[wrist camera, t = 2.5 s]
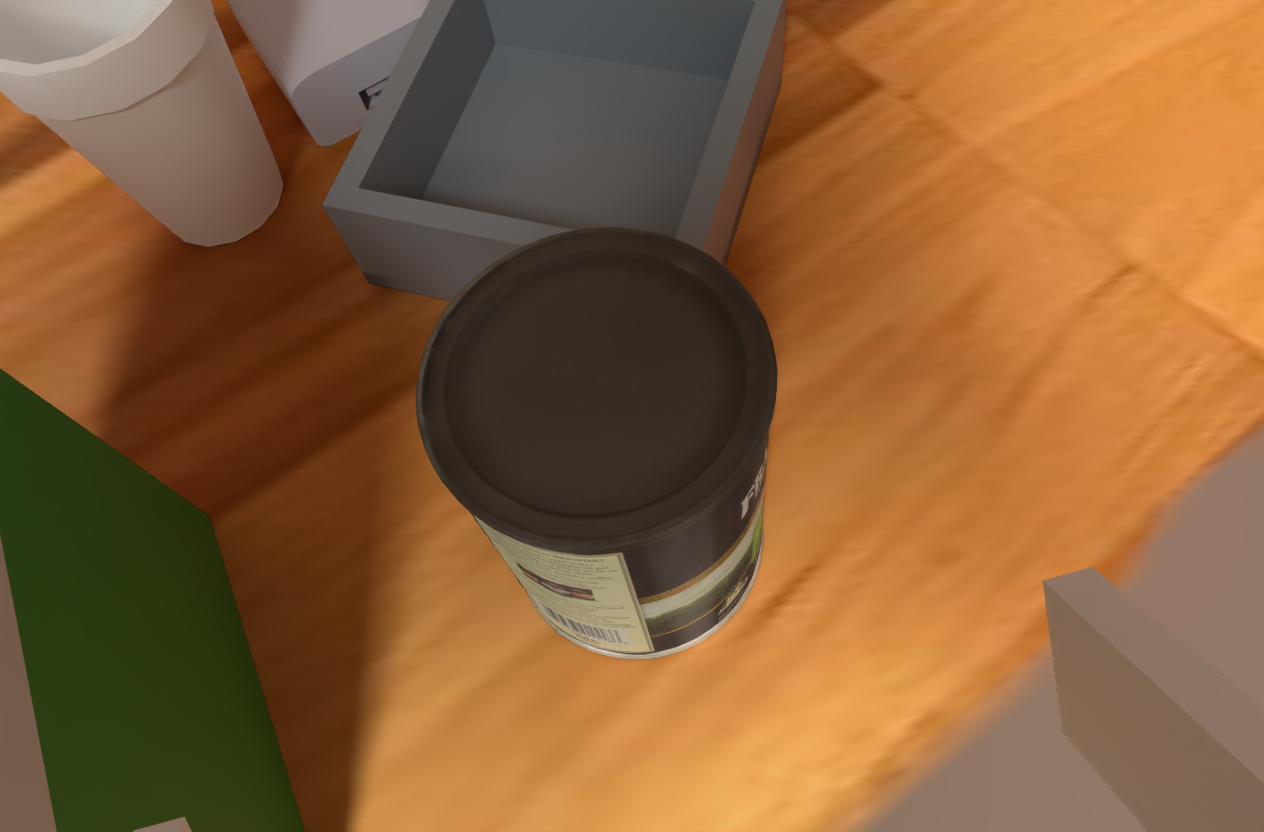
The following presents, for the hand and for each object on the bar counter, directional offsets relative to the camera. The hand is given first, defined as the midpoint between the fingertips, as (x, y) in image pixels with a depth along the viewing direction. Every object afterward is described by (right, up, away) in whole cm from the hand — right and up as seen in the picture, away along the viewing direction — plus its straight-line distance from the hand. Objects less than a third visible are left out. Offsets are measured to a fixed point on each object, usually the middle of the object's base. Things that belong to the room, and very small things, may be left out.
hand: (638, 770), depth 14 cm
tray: (-3, +17, +34) cm, 38 cm away
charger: (-17, +27, +40) cm, 51 cm away
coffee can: (0, 0, +26) cm, 26 cm away
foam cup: (-21, +17, +36) cm, 45 cm away
